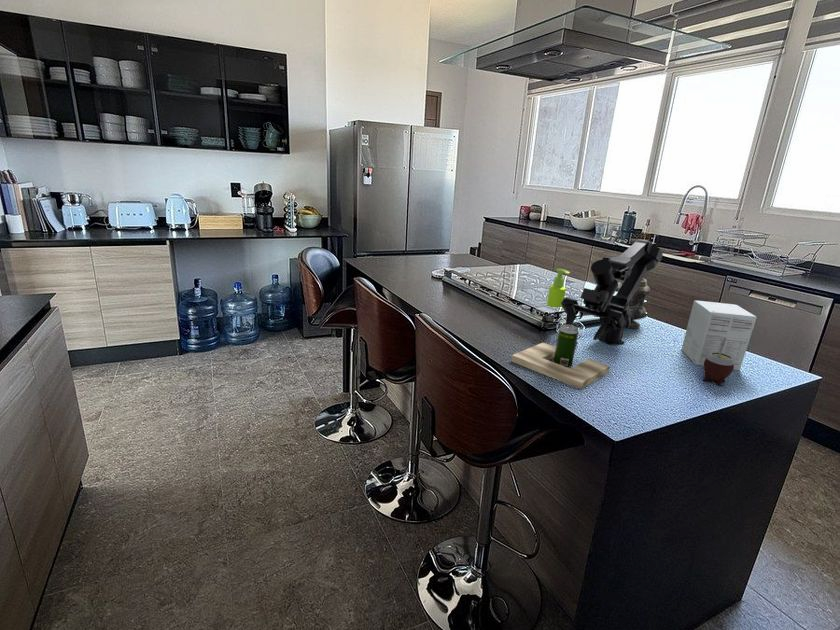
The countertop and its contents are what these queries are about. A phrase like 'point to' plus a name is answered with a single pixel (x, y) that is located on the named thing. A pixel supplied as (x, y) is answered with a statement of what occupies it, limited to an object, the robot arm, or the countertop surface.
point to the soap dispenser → (557, 290)
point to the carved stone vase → (637, 302)
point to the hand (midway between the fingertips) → (579, 335)
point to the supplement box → (718, 331)
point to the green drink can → (566, 345)
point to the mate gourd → (718, 366)
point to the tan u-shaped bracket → (560, 366)
